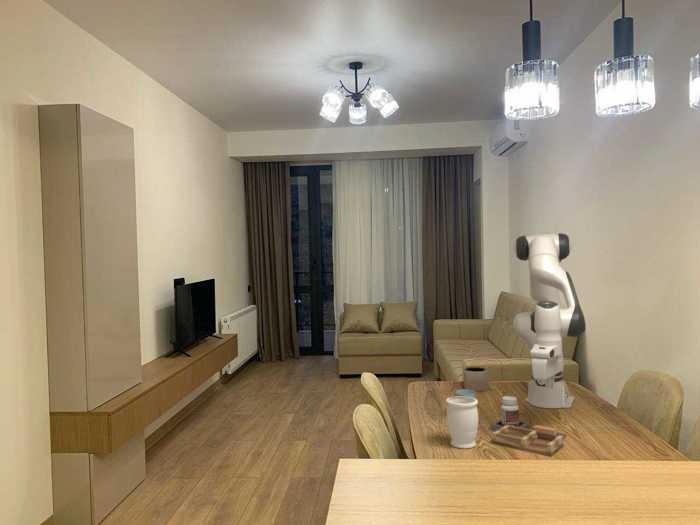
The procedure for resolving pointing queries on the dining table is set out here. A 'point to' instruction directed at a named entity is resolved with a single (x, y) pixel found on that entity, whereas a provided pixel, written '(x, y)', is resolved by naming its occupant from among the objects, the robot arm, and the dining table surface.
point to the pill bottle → (510, 411)
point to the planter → (475, 379)
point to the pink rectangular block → (545, 430)
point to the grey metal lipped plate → (549, 436)
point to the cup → (465, 393)
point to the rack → (526, 440)
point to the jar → (462, 421)
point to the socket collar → (498, 425)
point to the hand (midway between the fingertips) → (549, 388)
